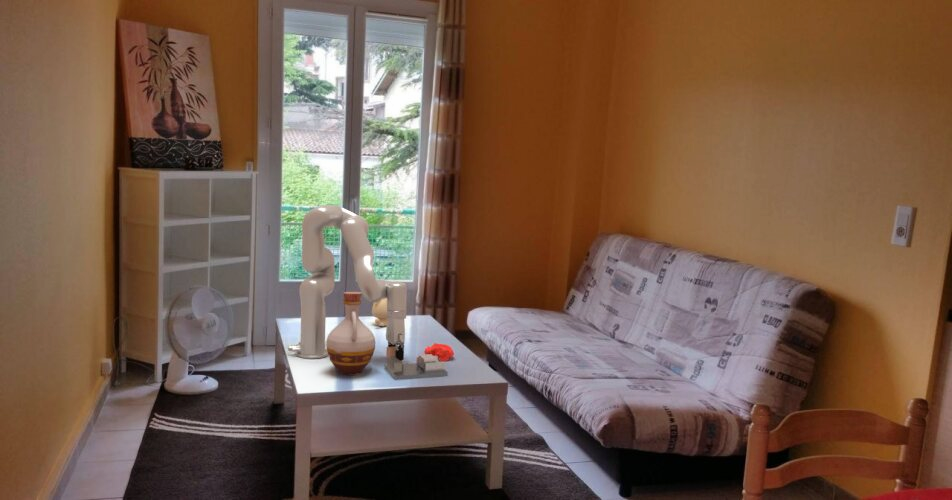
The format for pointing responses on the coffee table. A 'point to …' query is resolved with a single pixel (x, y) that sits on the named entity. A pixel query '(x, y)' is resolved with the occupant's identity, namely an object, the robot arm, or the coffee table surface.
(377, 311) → the kitten
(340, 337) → the jug
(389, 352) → the block
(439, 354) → the animal figurine
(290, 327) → the coffee table surface
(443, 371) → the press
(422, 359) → the light grey sliding block
